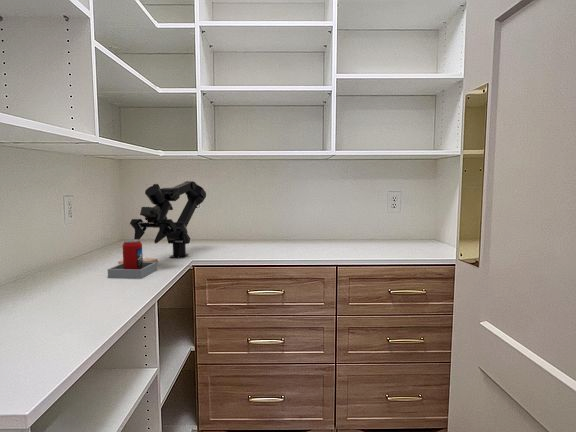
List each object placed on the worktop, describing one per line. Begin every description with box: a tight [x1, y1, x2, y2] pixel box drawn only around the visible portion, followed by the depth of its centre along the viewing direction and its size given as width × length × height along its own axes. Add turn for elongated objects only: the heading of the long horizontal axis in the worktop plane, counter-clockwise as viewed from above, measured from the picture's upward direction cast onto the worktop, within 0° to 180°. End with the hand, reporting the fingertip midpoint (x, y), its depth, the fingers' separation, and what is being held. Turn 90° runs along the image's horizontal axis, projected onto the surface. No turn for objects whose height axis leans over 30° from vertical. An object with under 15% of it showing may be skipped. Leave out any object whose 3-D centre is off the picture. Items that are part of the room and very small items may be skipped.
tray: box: [107, 261, 158, 280], centre depth 139 cm, size 13×13×3 cm
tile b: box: [143, 257, 159, 263], centre depth 158 cm, size 6×6×1 cm
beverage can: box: [122, 238, 144, 270], centre depth 138 cm, size 7×7×12 cm
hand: (145, 242), depth 145 cm, fingers open, 9 cm apart
